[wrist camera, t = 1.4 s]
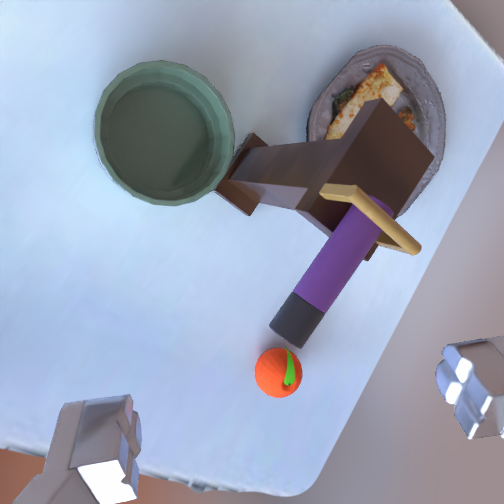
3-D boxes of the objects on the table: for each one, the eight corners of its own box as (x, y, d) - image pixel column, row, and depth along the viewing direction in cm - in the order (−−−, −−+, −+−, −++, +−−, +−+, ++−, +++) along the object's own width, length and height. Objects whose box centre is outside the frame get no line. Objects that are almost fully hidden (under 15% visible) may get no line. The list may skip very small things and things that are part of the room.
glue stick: (290, 336, 30) (307, 354, 27) (263, 320, 29) (279, 337, 26) (376, 212, 30) (401, 218, 27) (352, 190, 29) (377, 195, 26)
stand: (247, 220, 54) (405, 275, 27) (205, 190, 51) (338, 217, 24) (286, 161, 55) (480, 156, 28) (247, 127, 52) (423, 85, 25)
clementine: (250, 334, 58) (271, 355, 52) (292, 332, 61) (316, 352, 55) (245, 384, 60) (264, 411, 53) (285, 380, 62) (308, 405, 56)
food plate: (364, 252, 63) (379, 256, 60) (268, 148, 54) (280, 147, 50) (455, 136, 66) (473, 134, 62) (379, 16, 56) (396, 7, 53)
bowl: (95, 61, 44) (96, 45, 38) (222, 87, 50) (240, 76, 44) (91, 195, 46) (91, 200, 40) (211, 205, 52) (228, 210, 46)
